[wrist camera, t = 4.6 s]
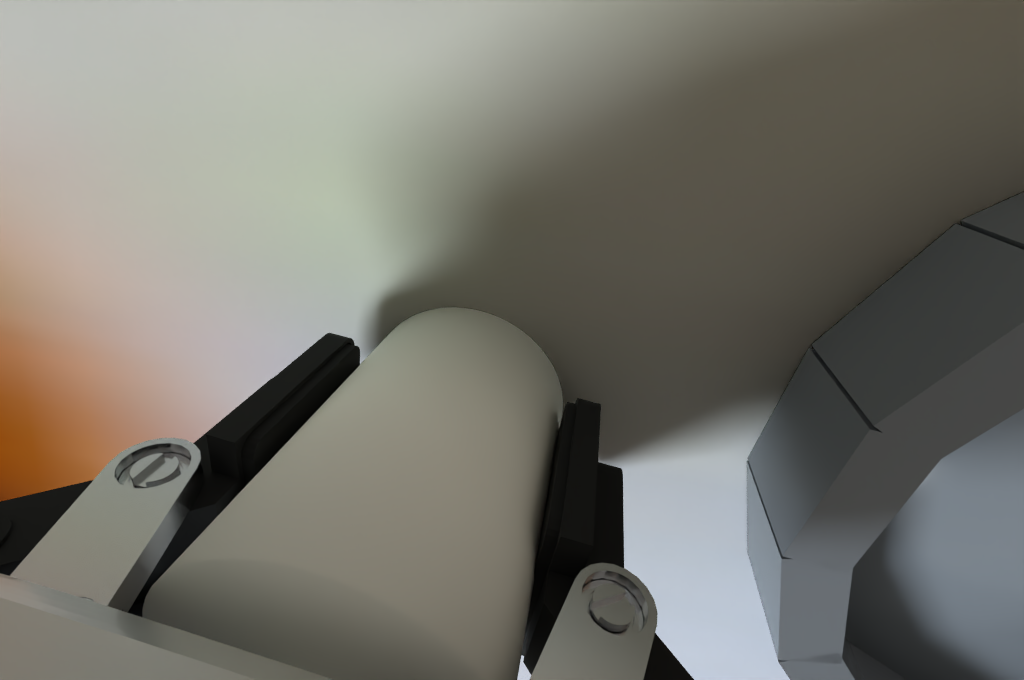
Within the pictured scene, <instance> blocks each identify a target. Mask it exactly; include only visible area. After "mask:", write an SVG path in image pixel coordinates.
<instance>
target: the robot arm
mask: <svg viewBox="0 0 1024 680" xmlns="http://www.w3.org/2000/svg"><path fill="white" fill-rule="evenodd" d="M359 365H360V349H359V347H358V346H354V341H353V340H352V339H351V338H347V337H343V336H340V335H336V334H332V333H328V334H326V335H325V336H323V337H322V338H321V339H320V340H319V341H317V342H316V343H315V344H314V345H313V346H311V347H310V348H309V349H308V350H307V351H305V352H304V353H303V354H302V355H301V356H299V357H298V358H297V359H296V360H295V361H293V362H292V363H291V364H290V365H289V366H287V367H286V368H285V369H284V370H283V371H281V372H280V373H279V374H278V375H277V376H275V377H274V378H272V379H271V380H269V381H268V382H267V383H266V384H265V385H263V386H262V387H261V388H260V389H258V390H257V391H256V392H255V393H254V394H252V395H251V396H250V397H249V398H248V399H246V400H245V401H244V402H243V403H242V404H240V405H239V406H238V407H237V408H236V409H234V410H233V411H232V412H231V413H230V414H228V415H227V416H226V417H225V418H224V419H222V420H221V421H220V422H219V423H218V424H216V425H215V426H214V427H213V428H211V429H210V430H209V431H208V432H207V433H205V434H204V435H203V436H202V437H201V438H199V439H198V440H197V441H196V442H195V443H191V442H189V441H187V440H183V439H178V438H159V439H154V440H149V441H145V442H142V443H139V444H137V445H134V446H132V447H130V448H128V449H126V450H124V451H123V452H121V453H119V454H118V455H117V456H116V457H115V458H114V459H112V460H111V461H110V462H109V463H108V464H107V465H106V467H105V468H104V469H103V470H102V471H101V472H100V473H99V475H98V476H97V477H96V478H95V479H94V480H92V481H87V482H83V483H79V484H75V485H70V486H66V487H62V488H57V489H53V490H49V491H45V492H40V493H36V494H32V495H27V496H23V497H19V498H15V499H10V500H6V501H2V502H0V680H333V679H330V678H327V677H324V676H321V675H318V674H315V673H312V672H309V671H306V670H303V669H300V668H297V667H294V666H291V665H287V664H284V663H281V662H278V661H275V660H272V659H269V658H266V657H263V656H260V655H257V654H254V653H251V652H248V651H245V650H242V649H238V648H235V647H232V646H229V645H226V644H223V643H220V642H217V641H214V640H211V639H208V638H205V637H202V636H199V635H195V634H192V633H189V632H186V631H183V630H180V629H177V628H174V627H171V626H168V625H164V624H161V623H158V622H155V621H152V620H149V619H146V618H143V617H142V609H143V605H144V601H145V597H146V595H147V594H148V592H149V590H150V588H151V586H152V585H153V584H154V583H155V582H156V581H157V580H158V579H159V578H160V577H161V576H162V575H163V574H164V573H165V572H166V570H167V569H168V568H169V567H170V566H171V565H172V564H173V563H174V562H175V561H176V560H177V559H178V558H179V557H180V556H181V555H182V553H183V552H184V551H185V550H186V549H187V548H188V547H189V546H190V545H191V544H192V543H193V542H194V541H195V540H196V539H197V538H198V536H199V535H200V534H201V533H202V532H203V531H204V530H205V529H206V528H207V527H208V526H209V525H210V524H211V523H212V522H213V521H214V519H215V518H216V517H217V516H218V515H219V514H220V513H221V512H222V511H223V510H224V509H225V508H226V507H227V506H228V505H229V504H230V502H231V501H232V500H233V499H234V498H235V497H236V496H237V495H238V494H239V493H240V492H241V491H242V490H243V489H244V488H245V487H246V485H247V484H248V483H249V482H250V481H251V480H252V479H253V478H254V477H255V476H256V475H257V474H258V473H259V472H260V471H261V470H262V468H263V467H264V466H265V465H266V464H267V463H268V462H269V461H270V460H271V459H272V458H273V457H274V456H275V455H276V454H277V453H278V451H279V450H280V449H281V448H282V447H283V446H284V445H285V444H286V443H287V442H288V441H289V440H290V439H291V438H292V437H293V435H294V434H295V433H296V432H297V431H298V430H299V429H300V428H301V427H302V426H303V425H304V424H305V423H306V422H307V421H308V420H309V418H310V417H311V416H312V415H313V414H314V413H315V412H316V411H317V410H318V409H319V408H320V407H321V406H322V405H323V404H324V403H325V401H326V400H327V399H328V398H329V397H330V396H331V395H332V394H333V393H334V392H335V391H336V390H337V389H338V388H339V387H340V386H341V384H342V383H343V382H344V381H345V380H346V379H347V378H348V377H349V376H350V375H351V374H352V373H353V372H354V371H355V370H356V369H357V367H358V366H359ZM600 412H601V405H600V404H598V403H594V402H590V401H587V400H583V399H579V398H577V400H576V403H575V404H574V403H570V402H567V404H566V407H565V410H564V413H563V417H562V420H561V424H560V427H559V431H558V437H557V442H556V448H555V454H554V460H553V465H552V471H551V477H550V483H549V488H548V494H547V500H546V506H545V511H544V517H543V523H542V529H541V534H540V540H539V546H538V552H537V557H536V563H535V569H534V583H533V589H532V595H531V600H530V606H529V612H528V618H527V624H526V630H525V636H524V641H523V647H522V653H521V655H523V656H524V661H523V662H524V664H525V665H526V667H527V669H528V670H529V672H530V674H531V678H530V680H694V679H693V678H692V677H691V676H690V674H689V673H688V672H687V671H686V670H685V668H684V667H683V666H682V665H681V664H680V662H679V661H678V660H677V659H676V658H675V656H674V655H673V654H672V653H671V651H670V650H669V649H668V648H667V647H666V645H665V644H664V643H663V642H662V641H661V639H660V638H659V637H658V636H657V635H656V633H655V630H656V626H657V609H656V605H655V602H654V599H653V597H652V595H651V594H650V592H649V590H648V588H647V587H646V586H645V585H644V584H643V583H642V582H641V580H640V579H639V578H638V577H637V576H635V575H634V574H632V573H631V572H629V571H628V570H627V569H624V533H623V474H622V469H621V468H617V467H614V466H610V465H606V464H603V463H599V462H598V449H599V431H600Z"/></svg>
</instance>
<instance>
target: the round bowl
mask: <svg viewBox="0 0 1024 680" xmlns="http://www.w3.org/2000/svg"><path fill="white" fill-rule="evenodd" d="M961 222H962V225H963V226H961V225H958V224H955V225H953V226H952V227H951V228H950V229H949V230H947V231H946V232H945V233H944V234H943V235H941V236H940V237H939V238H938V239H937V240H935V241H934V242H933V243H932V244H931V245H930V246H928V247H927V248H926V249H925V250H924V251H922V252H921V253H920V254H919V255H918V256H916V257H915V258H914V259H913V260H912V261H910V262H909V263H908V264H907V265H906V266H905V267H903V268H902V269H901V270H900V271H899V272H897V273H896V274H895V275H894V276H893V277H891V278H890V279H889V280H888V281H887V282H885V283H884V284H883V285H882V286H881V287H880V288H878V289H877V290H876V291H875V292H874V293H872V294H871V295H870V296H869V297H868V298H866V299H865V300H864V301H863V302H862V303H860V304H859V305H858V306H857V307H856V308H855V309H853V310H852V311H851V312H850V313H849V314H847V315H846V316H845V317H844V318H843V319H841V320H840V321H839V322H838V323H837V324H835V325H834V326H833V327H832V328H831V329H830V330H828V331H827V332H826V333H825V334H824V335H822V336H821V337H820V338H819V339H818V340H816V341H815V342H814V343H813V344H812V346H813V348H814V349H811V348H808V350H807V352H806V354H805V356H804V357H803V359H802V361H801V363H800V365H799V366H798V368H797V370H796V372H795V374H794V375H793V377H792V379H791V381H790V383H789V384H788V386H787V388H786V390H785V392H784V393H783V395H782V397H781V399H780V401H779V402H778V404H777V406H776V408H775V410H774V411H773V413H772V415H771V417H770V419H769V420H768V422H767V424H766V426H765V428H764V430H763V431H762V433H761V435H760V437H759V439H758V440H757V442H756V444H755V446H754V448H753V449H752V451H751V453H750V455H749V457H748V461H747V548H748V556H749V559H750V563H751V566H752V570H753V573H754V577H755V580H756V584H757V588H758V591H759V595H760V598H761V602H762V605H763V609H764V612H765V616H766V619H767V623H768V626H769V630H770V634H771V637H772V641H773V644H774V648H775V651H776V655H777V658H778V662H779V664H780V665H781V666H782V668H783V669H784V671H785V672H786V674H787V675H788V677H789V678H790V680H1024V192H1022V193H1020V194H1018V195H1016V196H1014V197H1011V198H1009V199H1007V200H1005V201H1002V202H1000V203H998V204H996V205H994V206H991V207H989V208H987V209H985V210H983V211H980V212H978V213H976V214H974V215H971V216H969V217H967V218H965V219H963V220H961Z"/></svg>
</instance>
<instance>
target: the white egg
mask: <svg viewBox="0 0 1024 680" xmlns="http://www.w3.org/2000/svg"><path fill="white" fill-rule="evenodd" d="M562 413H563V397H562V389H561V385H560V382H559V378H558V376H557V374H556V371H555V369H554V367H553V365H552V364H551V362H550V360H549V359H548V357H547V355H546V354H545V353H544V352H543V350H542V349H541V348H540V347H539V346H538V345H537V344H536V343H535V342H534V341H533V340H532V339H531V338H530V337H529V336H528V335H527V334H525V333H524V332H523V331H522V330H520V329H519V328H517V327H516V326H514V325H512V324H511V323H509V322H507V321H506V320H503V319H501V318H499V317H497V316H494V315H492V314H489V313H485V312H482V311H479V310H473V309H468V308H456V307H449V308H438V309H432V310H427V311H424V312H422V313H419V314H416V315H414V316H412V317H410V318H408V319H406V320H405V321H403V322H402V323H401V324H399V325H398V326H396V327H395V328H394V329H393V330H392V331H391V333H390V334H389V335H388V336H387V337H386V338H385V339H384V340H383V341H382V342H381V343H380V344H379V345H378V346H377V347H376V348H375V349H374V350H373V352H372V353H371V354H370V355H369V356H368V357H367V358H366V359H365V360H364V361H363V362H362V363H361V364H360V365H359V366H358V367H357V369H356V370H355V371H354V372H353V373H352V374H351V375H350V376H349V377H348V378H347V379H346V380H345V381H344V382H343V383H342V384H341V386H340V387H339V388H338V389H337V390H336V391H335V392H334V393H333V394H332V395H331V396H330V397H329V398H328V399H327V400H326V401H325V403H324V404H323V405H322V406H321V407H320V408H319V409H318V410H317V411H316V412H315V413H314V414H313V415H312V416H311V417H310V418H309V420H308V421H307V422H306V423H305V424H304V425H303V426H302V427H301V428H300V429H299V430H298V431H297V432H296V433H295V434H294V435H293V437H292V438H291V439H290V440H289V441H288V442H287V443H286V444H285V445H284V446H283V447H282V448H281V449H280V450H279V451H278V453H277V454H276V455H275V456H274V457H273V458H272V459H271V460H270V461H269V462H268V463H267V464H266V465H265V466H264V467H263V468H262V470H261V471H260V472H259V473H258V474H257V475H256V476H255V477H254V478H253V479H252V480H251V481H250V482H249V483H248V484H247V485H246V487H245V488H244V489H243V490H242V491H241V492H240V493H239V494H238V495H237V496H236V497H235V498H234V499H233V500H232V501H231V502H230V504H229V505H228V506H227V507H226V508H225V509H224V510H223V511H222V512H221V513H220V514H219V515H218V516H217V517H216V518H215V519H214V521H213V522H212V523H211V524H210V525H209V526H208V527H207V528H206V529H205V530H204V531H203V532H202V533H201V534H200V535H199V536H198V538H197V539H196V540H195V541H194V542H193V543H192V544H191V545H190V546H189V547H188V548H187V549H186V550H185V551H184V552H183V553H182V555H181V556H180V557H179V558H178V559H177V560H176V561H175V562H174V563H173V564H172V565H171V566H170V567H169V568H168V569H167V570H166V572H165V573H164V574H163V575H162V576H161V577H160V578H159V579H158V580H157V581H156V582H155V583H154V584H153V585H152V586H151V588H150V590H149V592H148V594H147V595H146V597H145V601H144V605H143V609H142V617H143V618H146V619H149V620H152V621H155V622H158V623H161V624H164V625H168V626H171V627H174V628H177V629H180V630H183V631H186V632H189V633H192V634H195V635H199V636H202V637H205V638H208V639H211V640H214V641H217V642H220V643H223V644H226V645H229V646H232V647H235V648H238V649H242V650H245V651H248V652H251V653H254V654H257V655H260V656H263V657H266V658H269V659H272V660H275V661H278V662H281V663H284V664H287V665H291V666H294V667H297V668H300V669H303V670H306V671H309V672H312V673H315V674H318V675H321V676H324V677H327V678H330V679H333V680H517V677H518V671H519V665H520V659H521V653H522V647H523V641H524V636H525V630H526V624H527V618H528V612H529V606H530V600H531V595H532V589H533V583H534V569H535V563H536V557H537V552H538V546H539V540H540V534H541V529H542V523H543V517H544V511H545V506H546V500H547V494H548V488H549V483H550V477H551V471H552V465H553V460H554V454H555V448H556V442H557V437H558V431H559V427H560V424H561V419H562Z"/></svg>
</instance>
